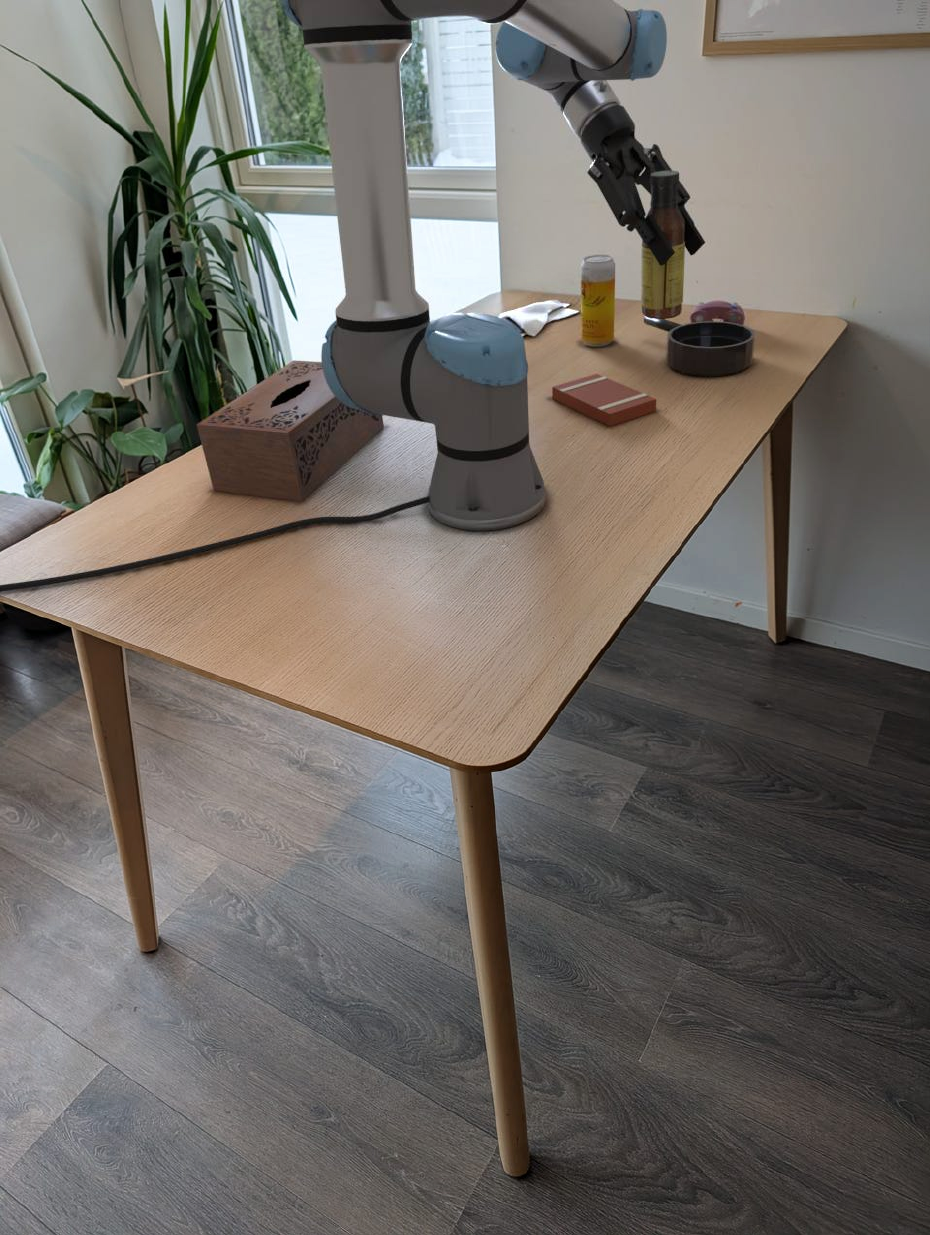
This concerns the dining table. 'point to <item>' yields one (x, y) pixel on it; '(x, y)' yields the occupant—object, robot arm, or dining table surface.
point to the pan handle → (661, 323)
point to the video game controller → (718, 312)
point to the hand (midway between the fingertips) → (682, 253)
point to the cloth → (537, 316)
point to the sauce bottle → (667, 280)
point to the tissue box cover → (283, 435)
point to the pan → (710, 348)
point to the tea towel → (604, 399)
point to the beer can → (597, 300)
